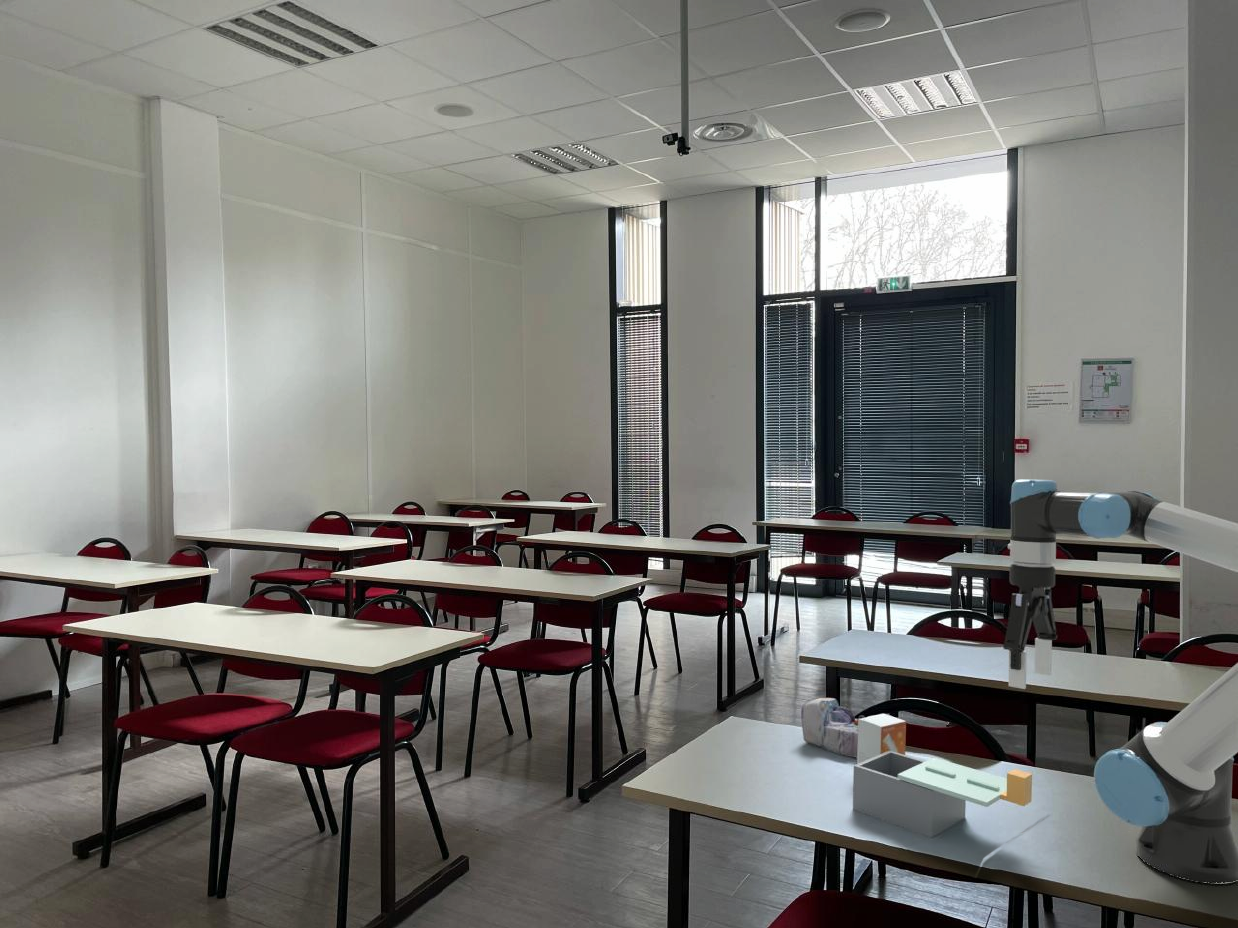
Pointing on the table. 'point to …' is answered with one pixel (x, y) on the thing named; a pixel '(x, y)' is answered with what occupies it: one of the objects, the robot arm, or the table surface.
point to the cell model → (830, 726)
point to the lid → (970, 782)
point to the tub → (902, 796)
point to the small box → (880, 736)
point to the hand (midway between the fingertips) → (1030, 680)
